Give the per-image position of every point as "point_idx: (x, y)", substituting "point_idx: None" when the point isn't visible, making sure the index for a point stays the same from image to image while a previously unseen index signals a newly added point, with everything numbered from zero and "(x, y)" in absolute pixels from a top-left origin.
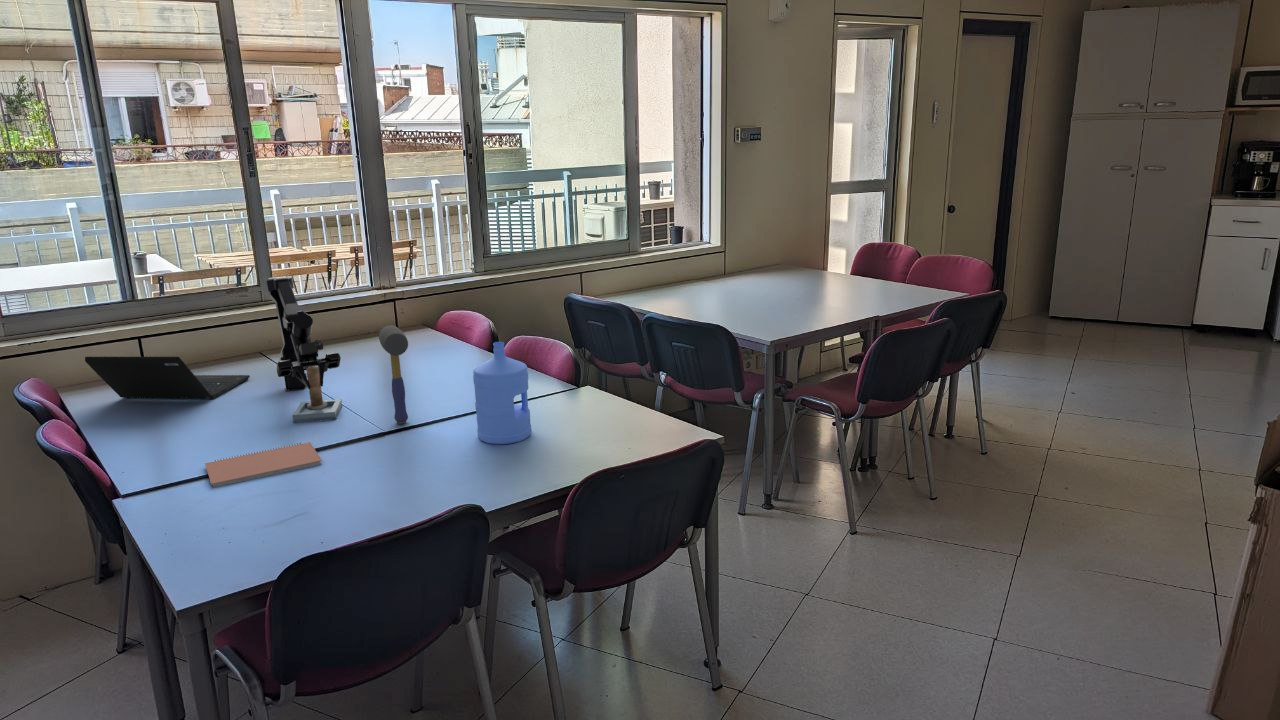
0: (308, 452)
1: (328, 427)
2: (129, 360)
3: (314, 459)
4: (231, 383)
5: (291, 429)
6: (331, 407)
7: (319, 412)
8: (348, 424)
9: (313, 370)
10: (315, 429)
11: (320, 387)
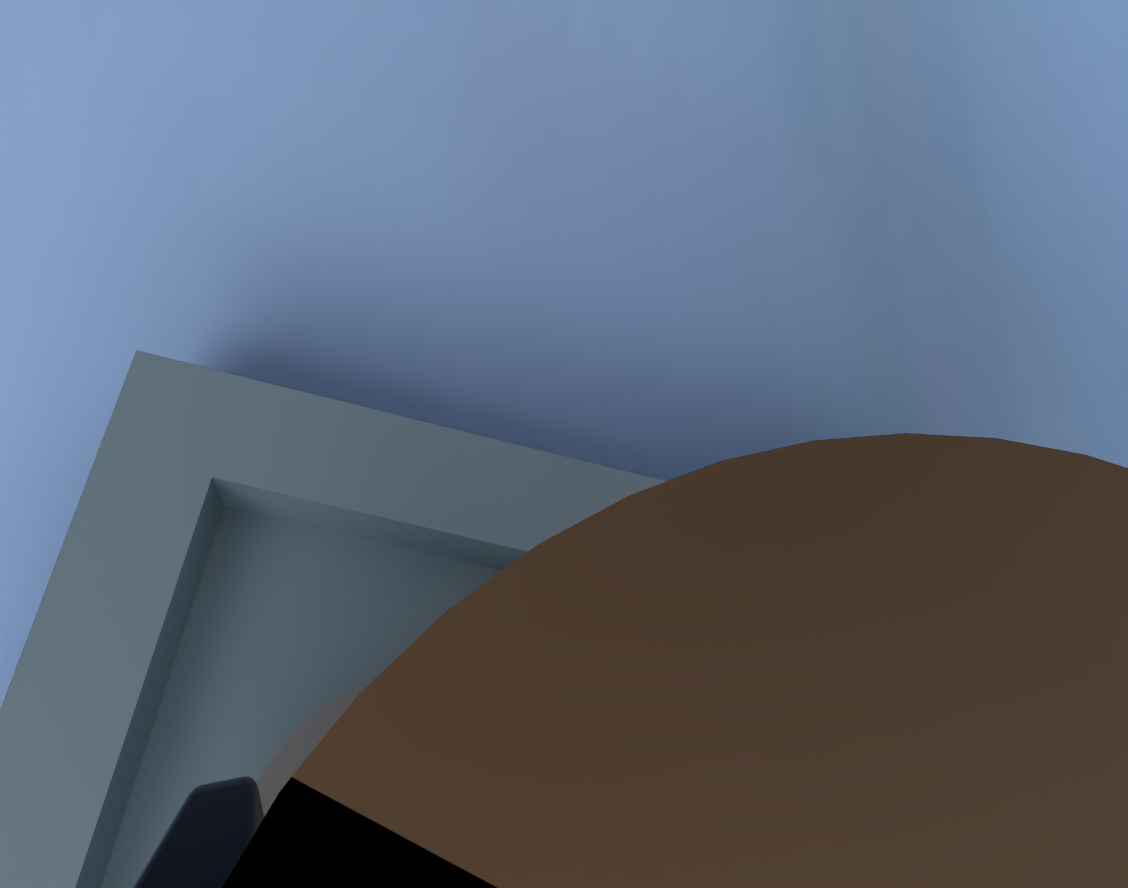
0: None
1: (334, 104)
2: None
3: None
4: None
5: (856, 279)
6: None
7: (439, 460)
8: (10, 80)
9: (799, 481)
10: (525, 116)
11: (318, 849)
